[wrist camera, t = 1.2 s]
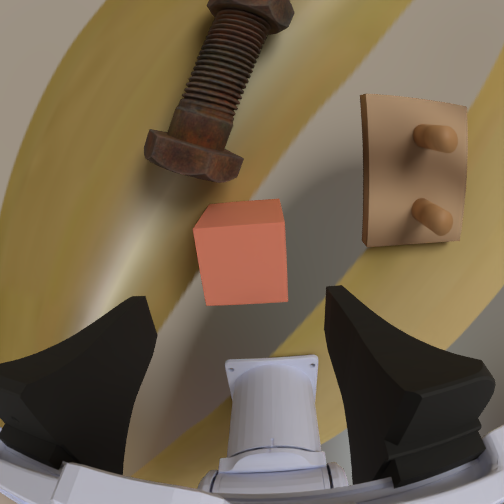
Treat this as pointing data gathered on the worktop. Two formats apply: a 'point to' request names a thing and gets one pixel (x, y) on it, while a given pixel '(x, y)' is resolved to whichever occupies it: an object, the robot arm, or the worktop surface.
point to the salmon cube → (242, 253)
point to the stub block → (412, 170)
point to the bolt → (217, 90)
